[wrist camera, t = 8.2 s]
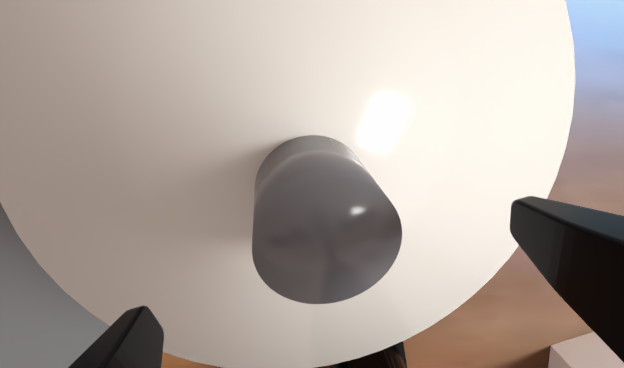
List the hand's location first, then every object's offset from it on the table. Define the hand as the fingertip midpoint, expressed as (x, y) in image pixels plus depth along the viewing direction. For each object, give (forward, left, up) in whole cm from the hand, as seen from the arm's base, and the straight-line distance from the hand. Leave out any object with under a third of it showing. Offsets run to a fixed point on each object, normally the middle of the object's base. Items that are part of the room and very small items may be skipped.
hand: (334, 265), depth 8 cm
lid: (0, 0, -5) cm, 5 cm away
